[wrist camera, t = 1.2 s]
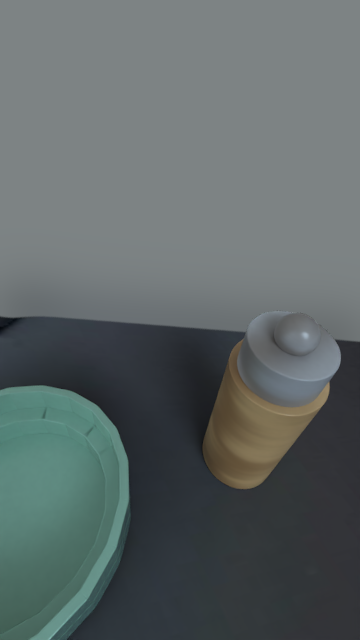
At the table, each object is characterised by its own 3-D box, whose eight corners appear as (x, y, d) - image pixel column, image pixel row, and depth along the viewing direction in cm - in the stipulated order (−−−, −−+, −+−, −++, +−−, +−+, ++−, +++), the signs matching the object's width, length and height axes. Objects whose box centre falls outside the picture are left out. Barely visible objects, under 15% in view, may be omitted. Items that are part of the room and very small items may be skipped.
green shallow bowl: (163, 583, 17) (168, 570, 14) (-134, 767, 12) (-226, 810, 9) (99, 396, 25) (93, 361, 22) (-97, 462, 20) (-139, 431, 17)
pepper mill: (286, 469, 22) (394, 343, 13) (226, 503, 20) (301, 384, 11) (245, 409, 26) (307, 274, 16) (190, 434, 24) (223, 296, 14)
